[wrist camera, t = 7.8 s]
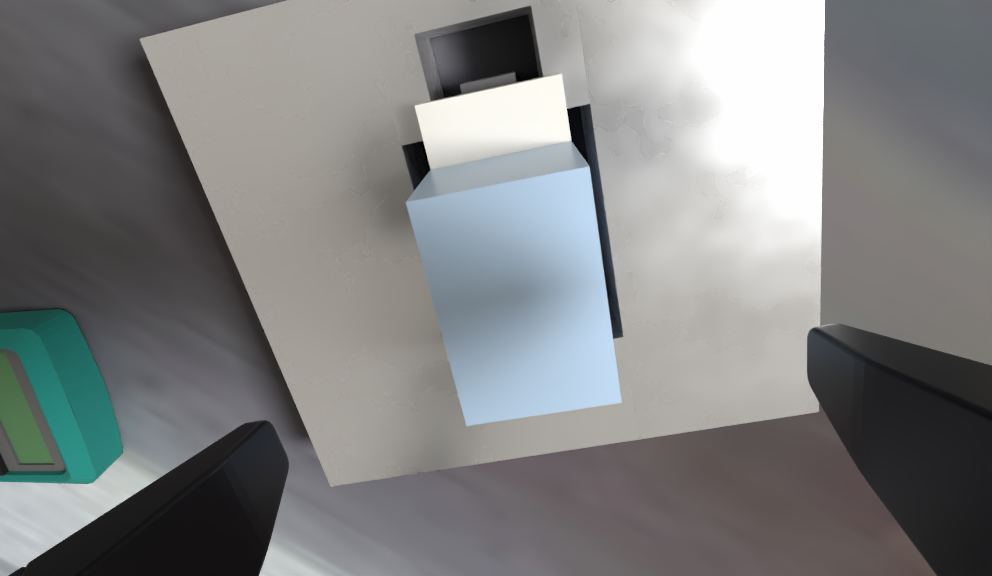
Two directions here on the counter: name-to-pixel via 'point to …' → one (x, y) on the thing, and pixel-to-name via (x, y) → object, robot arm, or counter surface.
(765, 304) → the white flat slab
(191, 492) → the robot arm
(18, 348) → the digital multimeter
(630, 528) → the counter surface
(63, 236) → the counter surface
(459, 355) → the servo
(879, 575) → the counter surface
